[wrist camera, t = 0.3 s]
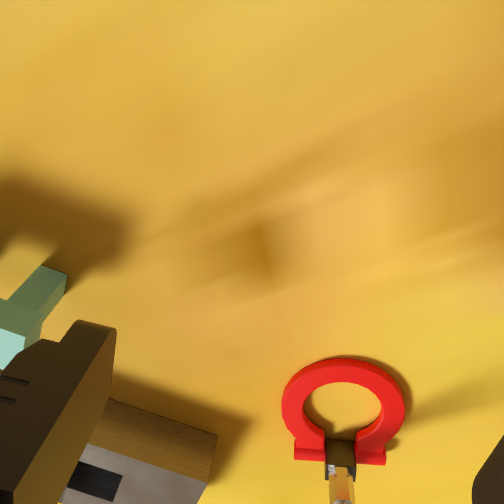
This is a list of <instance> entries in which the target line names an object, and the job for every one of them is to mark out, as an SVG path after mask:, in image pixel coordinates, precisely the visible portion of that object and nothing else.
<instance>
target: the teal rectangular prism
mask: <svg viewBox="0 0 504 504" xmlns="http://www.w3.org/2000/svg"><path fill="white" fill-rule="evenodd" d="M67 276H68V275H67V274H64V273H61V272H59V271H56V270H53V269H50V268H48V267H45V266H42V265H40V266H39V267H38V268H37V269H36V270H35V271H34V272H33V273H32V274H31V276H30V277H29V278H28V279H27V280H26V281H25V282H24V283H23V284H22V285H21V286H20V287H19V288H18V289H17V290H16V291H15V292H14V293H13V295H12V296H11V297H10V298H9V299H8V300H4V299H1V298H0V369H2V370H4V368H5V367H6V366H7V365H8V364H9V362H10V361H11V360H12V359H13V358H14V356H15V355H16V354H17V353H19V352H20V351H22V350H24V349H25V348H27V347H29V346H31V345H32V344H34V343H36V342H37V341H39V338H40V333H41V327H42V322H43V321H44V320H45V319H46V317H47V316H48V315H49V314H50V312H51V311H52V310H53V308H54V307H55V306H56V305H57V303H58V302H59V301H60V300H61V298H62V297H63V296H64V291H65V286H66V281H67Z"/></svg>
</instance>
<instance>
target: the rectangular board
mask: <svg viewBox="0 0 504 504" xmlns="http://www.w3.org/2000/svg"><path fill="white" fill-rule="evenodd" d="M2 371H3V370H2V369H0V373H1V372H2ZM217 437H218V436H216V435H213V434H210V433H207V432H204V431H201V430H198V429H195V428H193V427H190V426H187V425H184V424H181V423H178V422H175V421H172V420H169V419H166V418H164V417H161V416H158V415H155V414H152V413H149V412H146V411H143V410H140V409H138V408H135V407H132V406H129V405H126V404H123V403H120V402H117V401H114V400H111V399H109V398H108V399H107V402H106V405H105V408H104V411H103V413H102V415H101V417H100V420H99V422H98V424H97V426H96V428H95V430H94V432H93V434H92V436H91V438H90V439H89V441H88V443H87V445H86V447H85V449H84V451H83V453H82V455H81V457H80V459H79V461H78V463H77V465H76V467H75V469H74V471H73V473H72V475H71V477H70V479H69V481H68V483H67V485H66V487H65V489H64V491H63V493H62V495H61V497H60V499H59V501H58V502H60V503H63V504H197V502H198V500H199V499H200V497H201V495H202V493H203V491H204V490H205V488H206V486H207V484H208V480H209V475H210V471H211V466H212V461H213V456H214V451H215V446H216V442H217Z"/></svg>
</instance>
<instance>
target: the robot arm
mask: <svg viewBox="0 0 504 504" xmlns="http://www.w3.org/2000/svg"><path fill="white" fill-rule="evenodd" d="M116 336H117V332H116V329H115V328H112V327H107V326H103V325H99V324H95V323H91V322H87V321H83V320H77V321H75V322H74V323H73V325H72V326H71V327H70V329H69V330H68V331H67V333H66V334H65V336H64V337H63V338H62V340H61V341H60V342H59V343H58V342H54V341H50V340H46V339H41V340H39V341H37V342H36V343H34V344H32V345H31V346H29V347H27V348H25V349H24V350H22V351H20V352H19V353H17V354H16V355H15V356H14V358H13V359H12V360H11V361H10V362H9V364H8V365H7V366H6V367H5V368H4V370H3V371H2V372H1V373H0V504H57V503H58V501H59V499H60V497H61V495H62V493H63V491H64V489H65V487H66V485H67V483H68V481H69V479H70V477H71V475H72V473H73V471H74V469H75V467H76V465H77V463H78V461H79V459H80V457H81V455H82V453H83V451H84V449H85V447H86V445H87V443H88V441H89V439H90V438H91V436H92V434H93V432H94V430H95V428H96V426H97V424H98V422H99V420H100V417H101V415H102V413H103V411H104V408H105V405H106V402H107V399H108V395H109V391H110V387H111V379H112V371H113V362H114V354H115V345H116ZM472 504H504V435H503V437H502V438H501V440H500V441H499V443H498V444H497V446H496V447H495V449H494V450H493V452H492V453H491V455H490V456H489V457H488V459H487V460H486V462H485V463H484V465H483V466H482V468H481V469H480V471H479V472H478V474H477V475H476V477H475V479H474V482H473V487H472Z"/></svg>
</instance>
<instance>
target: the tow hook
mask: <svg viewBox="0 0 504 504" xmlns="http://www.w3.org/2000/svg"><path fill="white" fill-rule="evenodd" d="M334 382H350V383H354V384H359V385H361V386H363V387H365V388H368V389H369V390H370V391H372V392H373V393H374V394H375V395H376V396H377V398H378V399H379V400H380V402H381V412H380V414H379V416H378V418H377V419H376V420H375V421H374V423H373V424H371V425H370V426H368V427H367V428H365V429H363V430H360V431H358V432H357V433H356V440H355V443H353V442H352V441H339V440H325V436H324V431H323V430H322V429H320V428H318V427H317V426H315V425H314V424H313V423H311V421H310V420H309V419H308V418H307V417H306V415H305V412H304V410H303V405H304V402H305V400H306V398H307V397H308V396H309V394H310V393H311V392H313V391H314V390H315V389H317V388H318V387H321V386H323V385H325V384H329V383H334ZM281 407H282V418H283V420H284V422H285V425H286V427H287V429H288V430H289V431H290V432H291V433H292V435H293V436H294V437H295V438H296V439H297V440H295V441H294V459H295V460H309V461H324V465H325V480H329V494H330V504H355V495H354V485H353V482H355V478H356V464H370V465H385V464H386V450H385V446H384V444H385V443H387V442H388V441H390V440H391V439H392V438H393V437H394V436H395V434H396V433H397V432H398V431H399V430H400V427H401V425H402V423H403V421H404V417H405V404H404V400H403V397H402V393H401V389H400V388H399V386H398V385H397V383H396V382H395V380H394V379H393V378H392V377H391V376H390V375H388V374H387V373H386V372H385V371H383V370H382V369H381V368H379V367H376V366H374V365H372V364H370V363H367V362H363V361H359V360H354V359H329V360H324V361H319V362H316V363H314V364H312V365H309V366H307V367H305V368H303V369H302V370H301V371H299V372H298V373H297V374H295V375H294V376H293V377H292V378H291V380H290V381H289V383H288V384H287V385H286V387H285V390H284V393H283V396H282V403H281ZM324 440H325V441H324Z"/></svg>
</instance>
